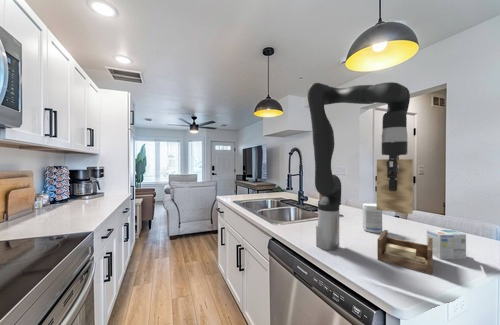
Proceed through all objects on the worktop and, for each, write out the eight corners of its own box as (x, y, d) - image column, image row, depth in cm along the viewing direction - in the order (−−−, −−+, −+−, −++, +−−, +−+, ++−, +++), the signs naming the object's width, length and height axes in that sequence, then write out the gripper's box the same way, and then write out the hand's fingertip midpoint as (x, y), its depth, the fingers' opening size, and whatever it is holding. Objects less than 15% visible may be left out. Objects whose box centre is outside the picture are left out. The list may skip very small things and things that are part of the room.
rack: (377, 262, 82) (377, 239, 82) (384, 250, 93) (384, 229, 93) (432, 277, 71) (432, 250, 71) (432, 261, 82) (432, 238, 82)
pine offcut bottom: (384, 259, 81) (384, 252, 81) (385, 256, 84) (385, 249, 84) (424, 270, 74) (424, 261, 74) (424, 266, 76) (424, 258, 76)
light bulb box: (450, 254, 89) (450, 228, 89) (467, 261, 82) (467, 234, 82) (425, 254, 88) (425, 229, 88) (440, 262, 82) (440, 234, 82)
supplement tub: (386, 232, 116) (386, 205, 116) (372, 234, 113) (371, 206, 113) (372, 227, 125) (372, 202, 125) (358, 228, 123) (358, 203, 123)
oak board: (376, 209, 76) (376, 159, 76) (379, 207, 79) (379, 159, 79) (411, 214, 69) (411, 159, 69) (412, 211, 72) (412, 159, 72)
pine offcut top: (385, 252, 81) (385, 246, 81) (387, 249, 84) (387, 243, 84) (415, 259, 75) (415, 252, 75) (416, 256, 78) (416, 249, 78)
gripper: (385, 143, 82) (385, 187, 82) (377, 140, 71) (377, 191, 71) (409, 142, 77) (409, 189, 77) (405, 139, 66) (405, 193, 66)
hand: (394, 189), depth 74 cm, fingers closed on oak board, 4 cm apart
